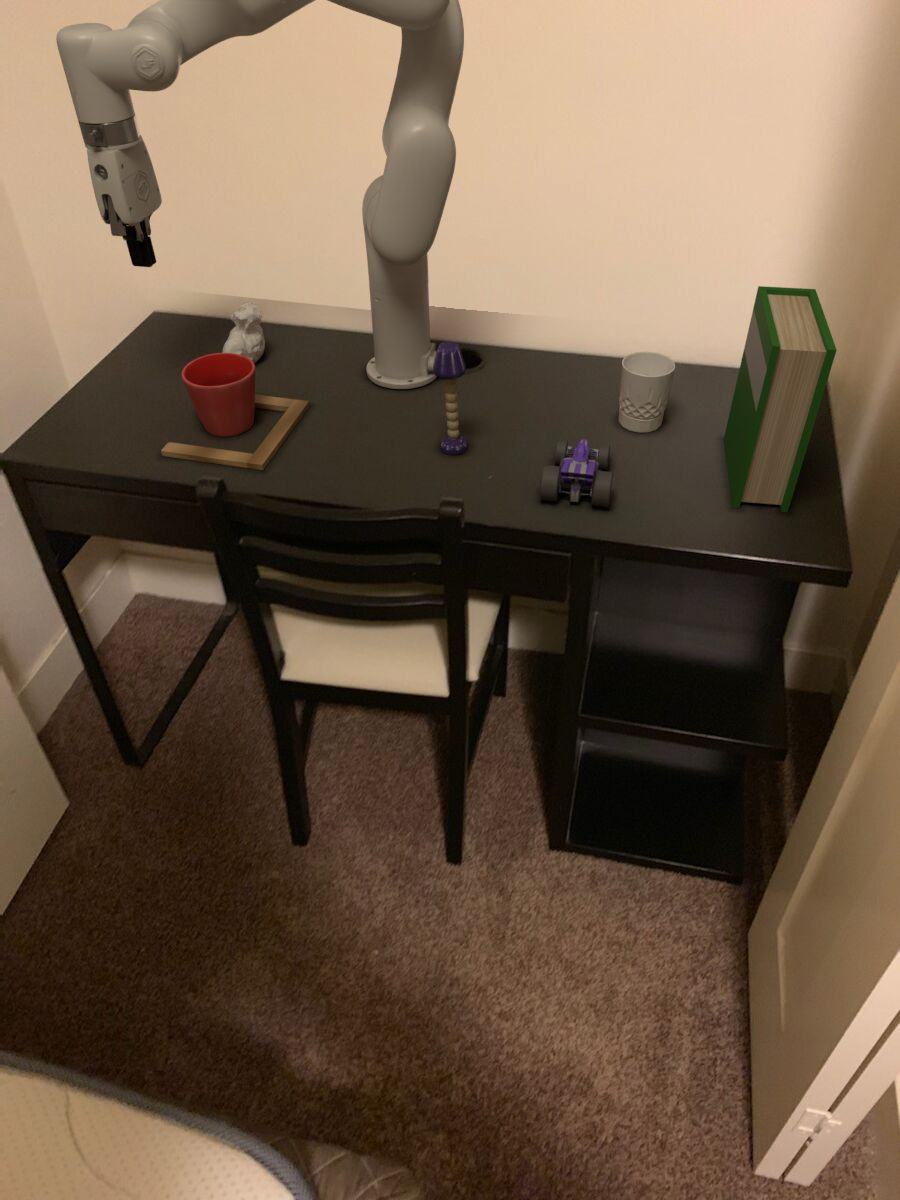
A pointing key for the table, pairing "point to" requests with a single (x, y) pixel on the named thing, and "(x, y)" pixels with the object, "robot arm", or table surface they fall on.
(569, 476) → the toy race car
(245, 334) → the bust
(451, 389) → the toy lamp
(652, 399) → the white cup
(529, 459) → the table surface
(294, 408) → the frame
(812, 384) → the hardback book
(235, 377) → the flower pot
